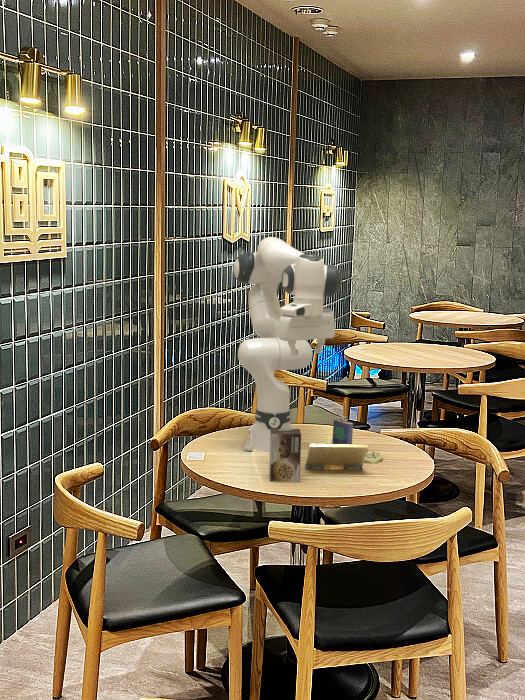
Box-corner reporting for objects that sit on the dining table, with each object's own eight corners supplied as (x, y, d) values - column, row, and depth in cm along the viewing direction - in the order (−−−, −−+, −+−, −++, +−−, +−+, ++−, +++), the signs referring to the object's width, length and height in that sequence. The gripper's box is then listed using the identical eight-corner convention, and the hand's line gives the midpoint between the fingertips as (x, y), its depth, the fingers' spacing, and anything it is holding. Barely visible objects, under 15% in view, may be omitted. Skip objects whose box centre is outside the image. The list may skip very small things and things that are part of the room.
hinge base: (304, 471, 263) (304, 463, 262) (360, 471, 264) (361, 464, 264) (310, 483, 250) (310, 475, 250) (369, 483, 252) (369, 475, 251)
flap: (305, 473, 261) (304, 467, 263) (361, 474, 263) (360, 467, 265) (310, 450, 252) (309, 443, 254) (368, 451, 254) (367, 444, 255)
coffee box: (298, 480, 253) (300, 428, 250) (299, 486, 246) (302, 433, 244) (268, 479, 252) (270, 427, 250) (269, 486, 246) (271, 432, 244)
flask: (353, 448, 294) (355, 418, 292) (347, 449, 292) (348, 419, 291) (335, 442, 301) (337, 413, 300) (329, 443, 299) (331, 414, 298)
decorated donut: (378, 469, 269) (379, 458, 268) (346, 465, 272) (346, 454, 272) (384, 461, 278) (385, 450, 278) (353, 457, 282) (354, 446, 281)
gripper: (326, 306, 259) (324, 350, 261) (275, 308, 246) (273, 354, 248) (340, 308, 254) (338, 353, 256) (289, 310, 241) (287, 357, 243)
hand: (306, 354), depth 252 cm, fingers open, 8 cm apart
